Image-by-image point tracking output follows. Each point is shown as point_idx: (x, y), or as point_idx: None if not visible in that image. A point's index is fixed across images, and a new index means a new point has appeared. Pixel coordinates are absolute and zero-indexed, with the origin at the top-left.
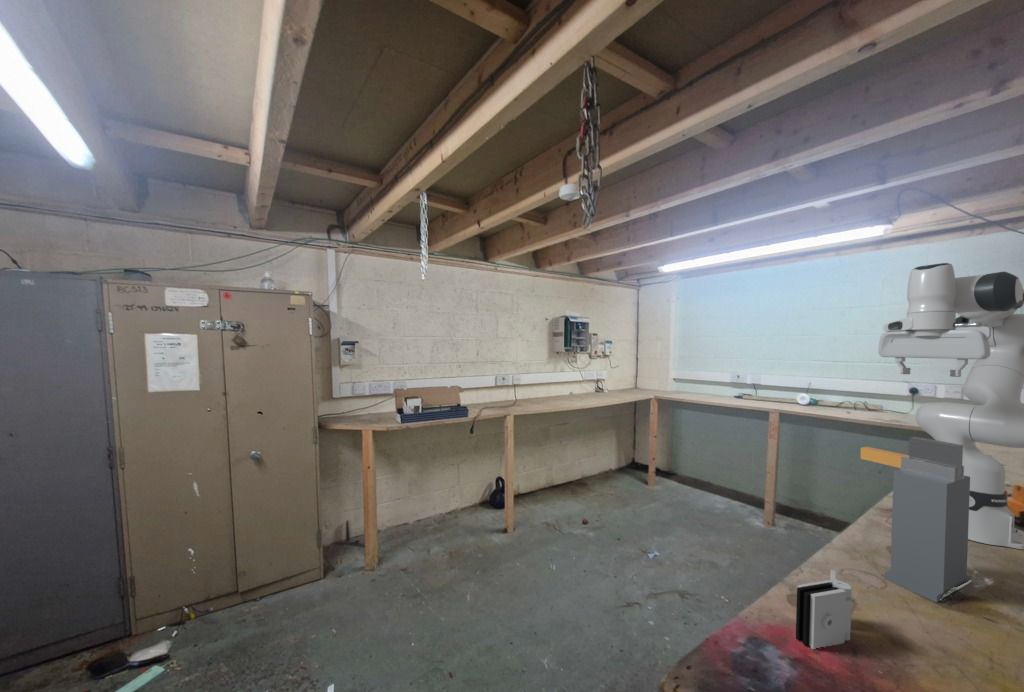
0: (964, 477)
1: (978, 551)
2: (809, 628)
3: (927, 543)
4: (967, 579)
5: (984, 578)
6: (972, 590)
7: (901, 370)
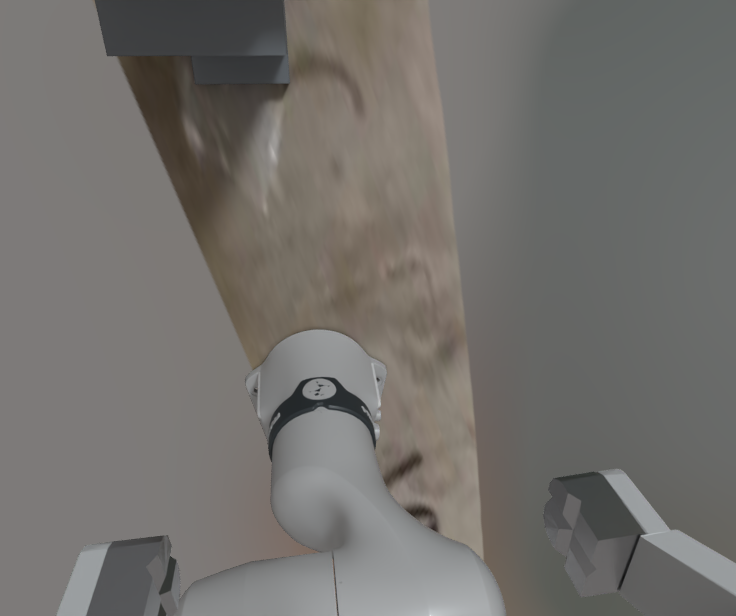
0: (105, 13)
1: (272, 287)
2: None
3: None
4: (191, 56)
5: (201, 141)
6: None
7: (634, 498)
